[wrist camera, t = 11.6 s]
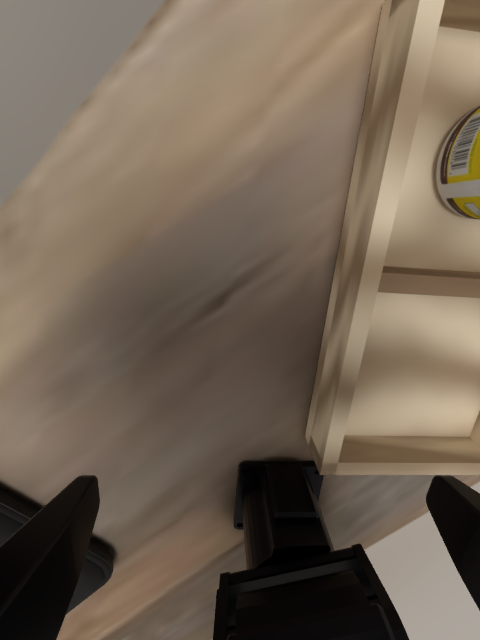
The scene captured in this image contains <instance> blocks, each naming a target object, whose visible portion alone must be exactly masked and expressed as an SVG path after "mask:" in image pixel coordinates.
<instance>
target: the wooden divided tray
mask: <svg viewBox="0 0 480 640" xmlns="http://www.w3.org/2000/svg"><path fill="white" fill-rule="evenodd" d="M478 106H480V0H386V1H385V2H384V3H383V4H382V10H381V15H380V21H379V26H378V32H377V38H376V43H375V49H374V54H373V60H372V65H371V71H370V77H369V82H368V88H367V93H366V99H365V104H364V110H363V116H362V121H361V127H360V132H359V138H358V144H357V149H356V155H355V160H354V166H353V171H352V177H351V183H350V188H349V194H348V199H347V205H346V210H345V216H344V222H343V227H342V233H341V238H340V244H339V249H338V255H337V261H336V266H335V272H334V277H333V283H332V288H331V294H330V300H329V305H328V311H327V316H326V322H325V327H324V333H323V339H322V344H321V350H320V355H319V361H318V366H317V372H316V378H315V383H314V389H313V394H312V400H311V406H310V411H309V417H308V422H307V428H306V433H305V438H306V441H307V443H308V446H309V448H310V451H311V453H312V456H313V459H314V461H315V464H316V466H317V469H318V471H319V474H320V475H480V220H479V219H469V218H465V217H462V216H460V215H458V214H456V213H455V212H453V211H452V210H451V209H450V208H449V207H448V206H447V205H446V204H445V203H444V201H443V200H442V198H441V196H440V193H439V191H438V187H437V180H436V169H437V162H438V158H439V155H440V152H441V149H442V146H443V144H444V142H445V140H446V139H447V137H448V135H449V134H450V132H451V131H452V129H453V128H454V127H455V126H456V125H457V123H458V122H459V121H460V120H461V119H462V118H463V117H464V116H466V115H467V114H468V113H469V112H471V111H472V110H474V109H475V108H477V107H478Z"/></svg>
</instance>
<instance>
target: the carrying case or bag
mask: <svg viewBox="0 0 480 640" xmlns="http://www.w3.org/2000/svg"><path fill="white" fill-rule="evenodd" d="M40 510H41V509H40V508H38V507H36V506H34V505H32V504H30V503H29V502H27V501H25V500H23V499H21V498H20V497H18V496H16V495H14V494H12V493H10V492H9V491H7V490H5V489H3V488H1V487H0V546H1V545H2V544H3V543H4V542H5V541H7V540H8V539H9V538H10V537H11V536H12V535H13V534H14V533H16V532H17V531H18V530H19V529H20V528H21V527H22V526H23V525H24V524H26V523H27V522H28V521H29V520H30V519H31V518H32V517H33V516H34V515H36V514H37V513H38V512H39V511H40ZM112 572H113V560H112V557H111V556H110V554H109V551H108V550H107V548H106V547H105V546H103V545H102V544H101V543H99V542H98V541H96V540H94V539H93V538H90V542H89V545H88V549H87V552H86V556H85V559H84V563H83V566H82V570H81V573H80V577H79V580H78V583H77V586H76V589H75V591H74V594H73V597H72V600H71V602H70V605H69V607H68V610H67V613H68V612H70V611H71V610H72V609H73V608H75V607H76V606H77V605H79V604H80V603H81V602H82V601H84V600H85V599H86V598H88V597H89V596H90V595H91V594H93V593H94V592H95V591H97V590H98V589H99V588H100V587H102V586H103V585H104V584H105V583H106V582H107V581H108V580H109V579H110V577H111V575H112ZM67 613H66V614H67Z"/></svg>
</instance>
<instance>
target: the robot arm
mask: <svg viewBox="0 0 480 640" xmlns="http://www.w3.org/2000/svg"><path fill="white" fill-rule="evenodd" d="M244 469H247V470H244ZM322 480H323V475H320V474H319V471H318V470H317V466H316V464H315V463H294V462H245V463H242V464H240V465H239V469H238V480H237V490H236V501H235V511H234V527H235V528H236V529H239V530H244V538H245V550H246V562H247V570H244V571H240V572H235V573H230V572H226V573H222V574H220V584H219V589H217V595H216V609H215V621H214V633H213V640H409V638H408V636H407V633H406V631H405V628H404V626H403V624H402V622H401V619H400V617H399V615H398V613H397V611H396V609H395V607H394V605H393V604H392V602H391V600H390V598H389V596H388V594H387V592H386V590H385V588H384V587H383V585H382V583H381V581H380V579H379V577H378V575H377V574H376V572H375V570H374V568H373V566H372V564H371V562H370V561H369V559H368V557H367V555H366V553H365V551H364V549H363V547H362V546H361V544H356V545H352V547H351V548H346V549H341V550H337V551H334V548H333V545H332V542H331V539H330V536H329V533H328V531H327V528H326V525H325V522H324V519H323V516H322V513H321V510H320V507H319V505H318V499H319V494H320V489H321V485H322ZM426 503H427V506H428V509H429V511H430V513H431V515H432V517H433V519H434V521H435V524H436V526H437V528H438V530H439V532H440V535H441V537H442V539H443V541H444V543H445V545H446V547H447V550H448V552H449V554H450V556H451V558H452V560H453V562H454V564H455V566H456V568H457V570H458V572H459V574H460V576H461V578H462V580H463V582H464V583H465V585H466V587H467V589H468V590H469V592H470V594H471V596H472V598H473V599H474V601H475V603H476V605H477V606H478V608H479V610H480V493H478V492H476V491H475V490H473V489H472V488H470V487H469V486H467V485H465V484H464V483H462V482H461V481H459V480H458V479H456V478H454V477H453V476H450V475H436V476H434V477H433V479H432V482H431V485H430V487H429V490H428V493H427V496H426ZM99 504H100V497H99V487H98V479H97V477H96V476H94V475H82V476H79V477H77V478H76V479H75V480H73V481H72V482H71V483H70V484H69V485H68V486H67V487H66V488H65V489H63V490H62V491H61V492H60V493H59V494H58V495H57V496H56V497H55V498H53V499H52V500H51V501H50V502H49V503H48V504H47V505H46V506H45V507H43V508H42V509H41V510H40V511H39V512H38V513H37V514H36V515H34V516H33V517H32V518H31V519H30V520H29V521H28V522H27V523H26V524H24V525H23V526H22V527H21V528H20V529H19V530H18V531H17V532H16V533H14V534H13V535H12V536H11V537H10V538H9V539H8V540H7V541H5V542H4V543H3V544H2V545H1V546H0V640H56V639H57V636H58V633H59V631H60V628H61V626H62V623H63V620H64V618H65V615H66V613H67V610H68V607H69V605H70V602H71V600H72V597H73V594H74V591H75V589H76V586H77V583H78V580H79V577H80V573H81V570H82V566H83V563H84V559H85V556H86V552H87V549H88V545H89V542H90V538H91V535H92V531H93V528H94V524H95V520H96V517H97V513H98V510H99Z"/></svg>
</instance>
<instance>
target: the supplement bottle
mask: <svg viewBox="0 0 480 640" xmlns="http://www.w3.org/2000/svg"><path fill="white" fill-rule="evenodd" d="M436 180H437V187H438V191H439V193H440V196H441V198H442V200H443V201H444V203H445V204H446V205H447V206H448V207H449V208H450V209H451V210H452V211H453V212H455V213H456V214H458V215H460V216H462V217H465V218H469V219H479V220H480V106H478V107H477V108H475V109H474V110H472V111H471V112H469V113H468V114H467V115H466V116H464V117H463V118H462V119H461V120H460V121H459V122H458V123H457V125H456V126H455V127H454V128H453V129H452V131H451V132H450V134H449V135H448V137H447V139H446V140H445V142H444V144H443V146H442V149H441V152H440V155H439V158H438V162H437V169H436Z"/></svg>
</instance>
